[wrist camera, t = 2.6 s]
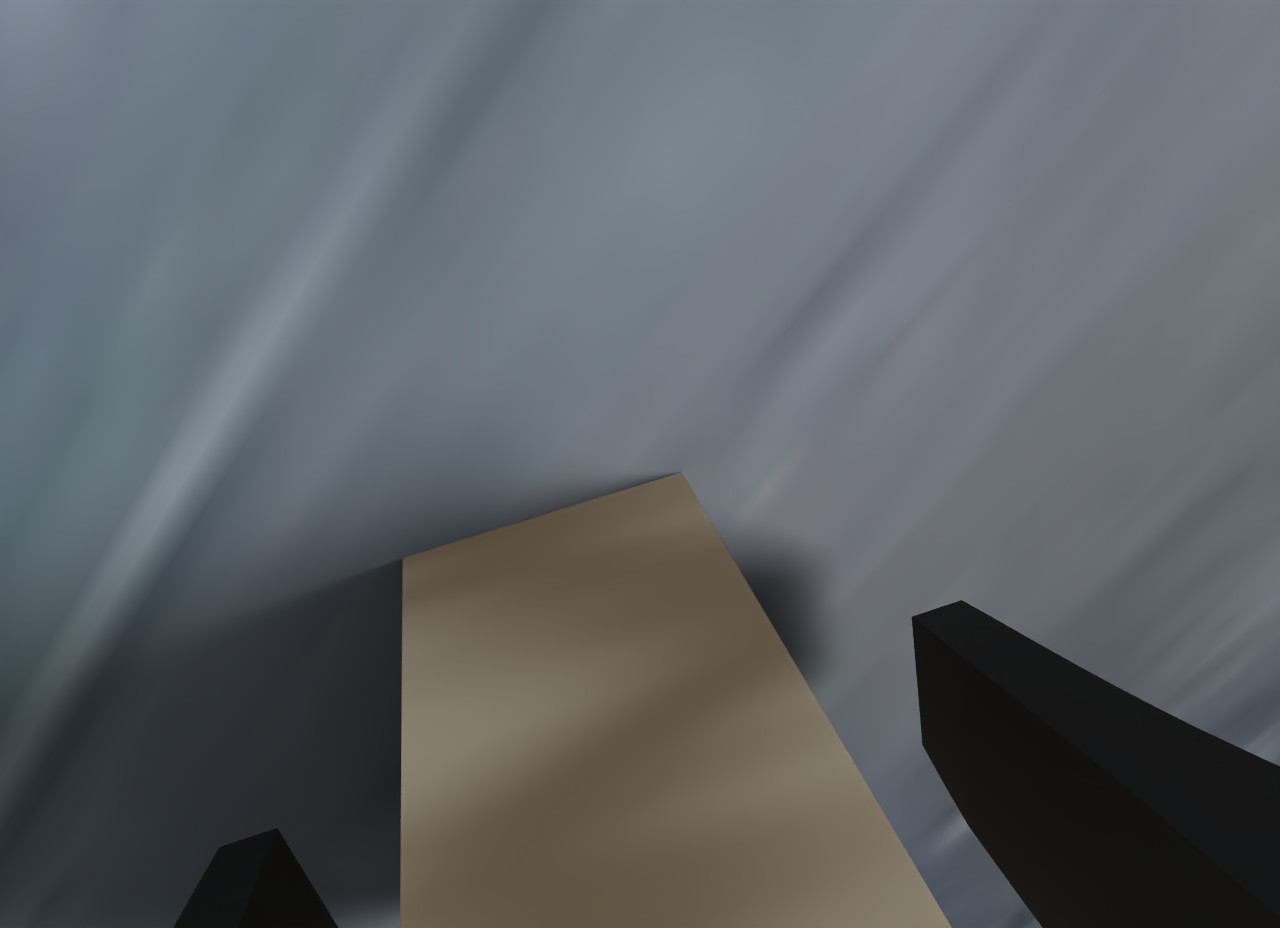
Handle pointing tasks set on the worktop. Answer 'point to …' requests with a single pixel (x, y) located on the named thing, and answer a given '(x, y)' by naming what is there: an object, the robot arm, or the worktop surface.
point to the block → (624, 740)
